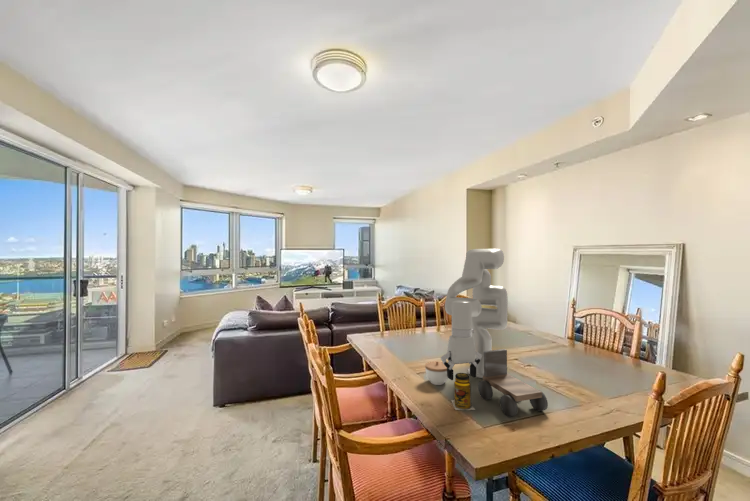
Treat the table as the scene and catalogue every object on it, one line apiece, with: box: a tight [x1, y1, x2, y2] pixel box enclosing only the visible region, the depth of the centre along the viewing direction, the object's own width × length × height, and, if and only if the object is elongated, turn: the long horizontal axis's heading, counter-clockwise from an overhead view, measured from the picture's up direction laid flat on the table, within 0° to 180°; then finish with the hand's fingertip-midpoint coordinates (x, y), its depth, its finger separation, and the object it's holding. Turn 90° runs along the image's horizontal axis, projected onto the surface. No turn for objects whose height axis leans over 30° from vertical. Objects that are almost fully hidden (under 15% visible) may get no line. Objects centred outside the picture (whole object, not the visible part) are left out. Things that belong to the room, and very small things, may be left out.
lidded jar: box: [424, 360, 449, 386], centre depth 150 cm, size 11×11×9 cm
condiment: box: [450, 372, 476, 411], centre depth 128 cm, size 7×8×12 cm
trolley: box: [477, 348, 549, 418], centre depth 128 cm, size 21×15×18 cm
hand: (461, 377), depth 127 cm, fingers open, 9 cm apart
